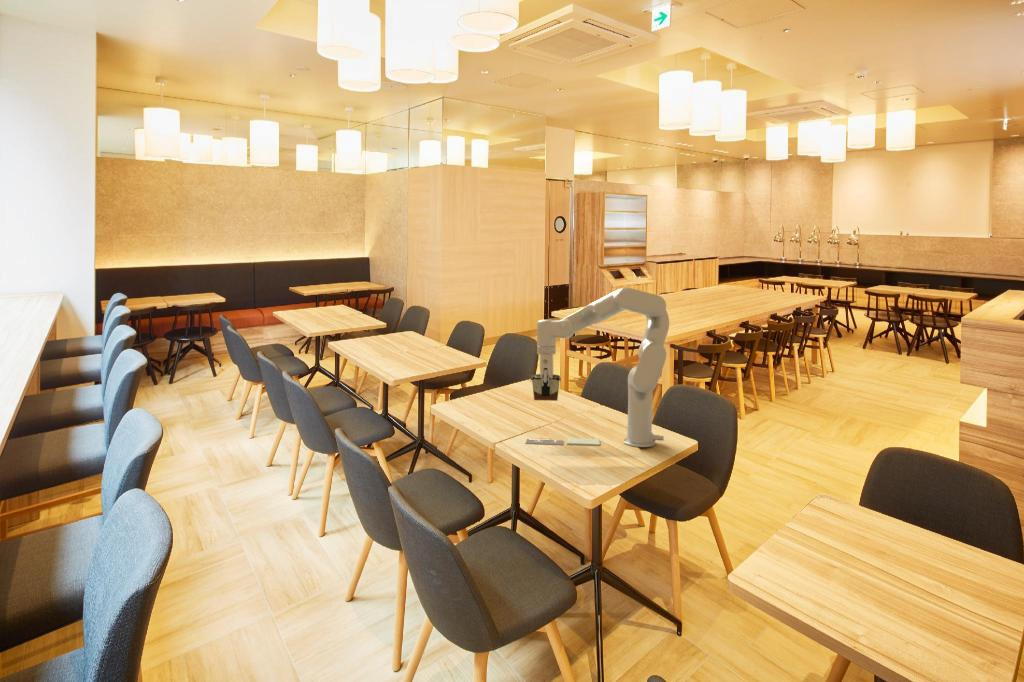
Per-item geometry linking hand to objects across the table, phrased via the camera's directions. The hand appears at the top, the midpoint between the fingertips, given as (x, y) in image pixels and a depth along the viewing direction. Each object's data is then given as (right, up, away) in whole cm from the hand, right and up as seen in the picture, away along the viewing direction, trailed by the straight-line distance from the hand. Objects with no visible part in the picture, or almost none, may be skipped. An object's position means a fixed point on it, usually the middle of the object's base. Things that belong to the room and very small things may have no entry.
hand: (545, 394), depth 224 cm
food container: (0, -2, +1) cm, 2 cm away
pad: (+15, -19, +1) cm, 25 cm away
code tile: (0, -19, +1) cm, 19 cm away
